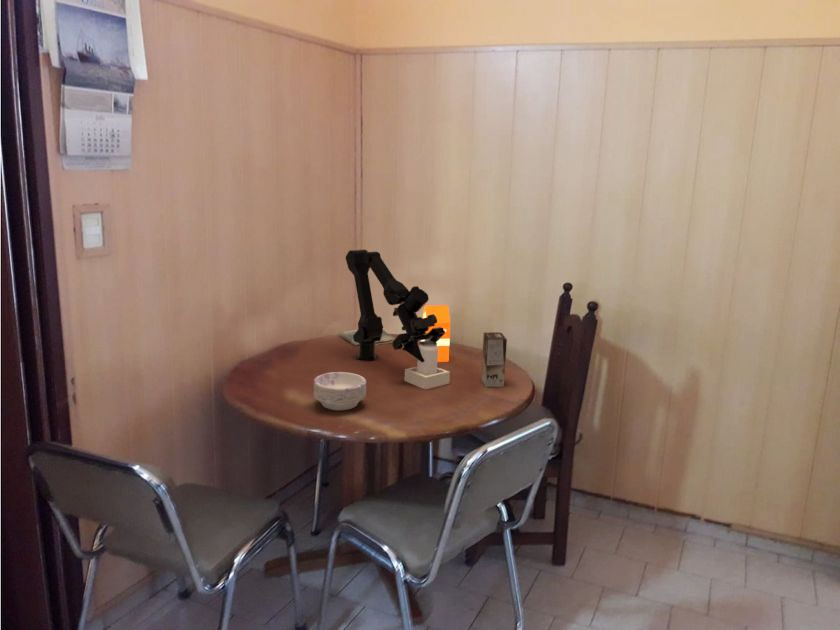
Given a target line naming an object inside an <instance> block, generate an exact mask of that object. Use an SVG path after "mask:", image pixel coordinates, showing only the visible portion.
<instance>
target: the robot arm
mask: <svg viewBox="0 0 840 630" xmlns="http://www.w3.org/2000/svg"><path fill="white" fill-rule="evenodd" d="M345 262H346V265H347V268H348V270H349V271H350V273H351V274H352V275H353V277H354V278H353V279H354V283H355V288H356V294H357V300H358V306H359V312H360V317H359V320H358V322H357V328H358V329H356V330H357V331H356V333H355V334H354V335H353V338H354V342H357V343H359V347H358V355H356V358H355V359H356V360H363V361H374V360H375V359H376V358H377V357H378V354H376V351H375V350H376V345H375V341H380V340H381V336H382V333H383V330H384V325H383V319H382V317H381V316H378V315H377V314H376V313H375V307H374V301H373V300H374V299H373V295H372V290H371V284H370V277H369V271H370V269H371V271H372V273H373V274H374V275H375V277H376V279H377V280H378V281H379V284H380V285H381V286H382V288H383V291H382V292H383V293H382V294H383V297H384V299H385V300H386V302H387V303H388V305H389V306H396V305H398V306H397V307H393V308H394V309H393V312H392V316H393V317H398V319H399V321H400V322H401V325H402V327H401V331H405V332H404V333H399V334H398V335H397V336H395V337H394V338H395V339H394V341H393V343H391V345H392V348H393V349H394V351H397V350H402V351H403V352H407V353H408V354H410V355H411V356H413V357H414V358H415V359H417V361H418V360H419V361H421V362H424V359H423V357H422V355H421V352H420V349H419V343H418V342H421V340H425V341H433V342H437V341H438V340H439V339H440V338H441V337H442V336H443V335H444V334H445V331H444V329H443V328H442V327H437V328H432V330H431V331H430V332H429V333H426V331H428V330H429V327H432V326H433V327H434V326H435V324H436V323H437V318H436V316H435V315H434V314H431V315H428V316H427V318H422V316H420V317H418V314H417V313H418V312H420V311H421V309H422V308H423V307H425V306H426V304H427V303H428V302H429V295H428V293H427V292H426V291H425V290H423V289H421V288H420V286H417V285H415V286H412V287H411V289H410V290H409V289H408V288H407V287H406V286H405V284H404V283H402V282H400V281H399V280H397V279H396V277H394V275H393V273H392V272H391V271H390V269H389V268H388V266H387V265H386V263H385V261H384V260H383V259H382V258H381V253H380V252H378V251H368V250H367V249H354V250H353V249H351V250H348V251H347V254H346V255H345Z"/></svg>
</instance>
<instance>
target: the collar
mask: <svg viewBox="0 0 840 630" xmlns="http://www.w3.org/2000/svg"><path fill="white" fill-rule="evenodd" d="M450 376H451V372H450V371H449V370H446V369H443V368H441V367H438V366H437V373H436V374H432V375H428V376H425V375H423V374H420V373H418V372H417V366H413V367H410V368H405V369H404V382H407V383H408V384H411V385H414V386H416V387H418V388H420V389H423V390H429V389H433V388H437V387H441V386H444V385H449V384H450V382H451V381H450V378H451V377H450Z"/></svg>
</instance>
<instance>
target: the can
mask: <svg viewBox="0 0 840 630" xmlns="http://www.w3.org/2000/svg"><path fill="white" fill-rule="evenodd" d="M418 347H419V349H420V352H421V355H422V357H423V359H424V362H421V361H419V360H418V359H417V364H416V367H417V372H418V373H420V374H423V375H425V376H428V375H432V374H436V373H437V367H438V363H439V362H438V347H437V343H436V342H433V341H422V342H421V341H419V344H418Z"/></svg>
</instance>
